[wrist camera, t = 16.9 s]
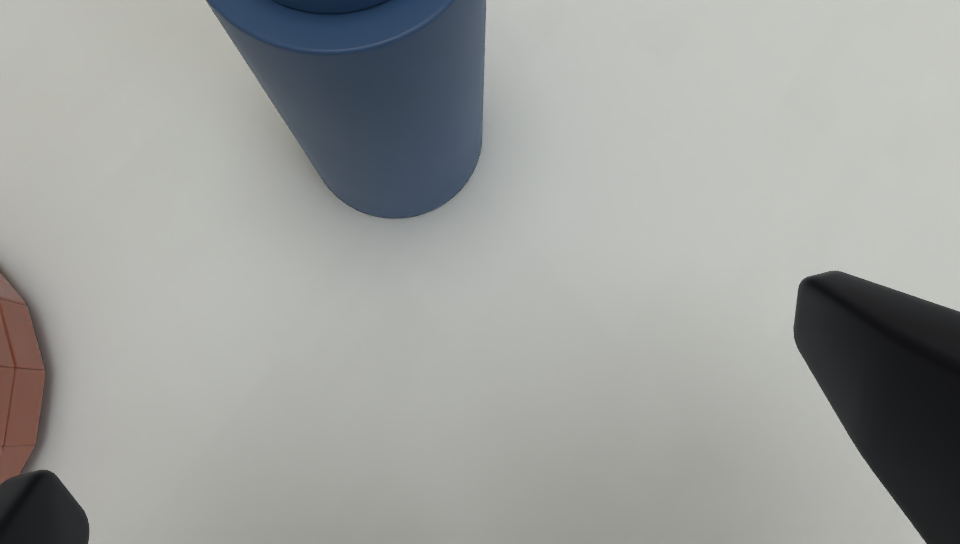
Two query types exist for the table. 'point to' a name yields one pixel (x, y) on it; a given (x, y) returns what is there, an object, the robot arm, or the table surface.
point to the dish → (18, 382)
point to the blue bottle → (373, 91)
